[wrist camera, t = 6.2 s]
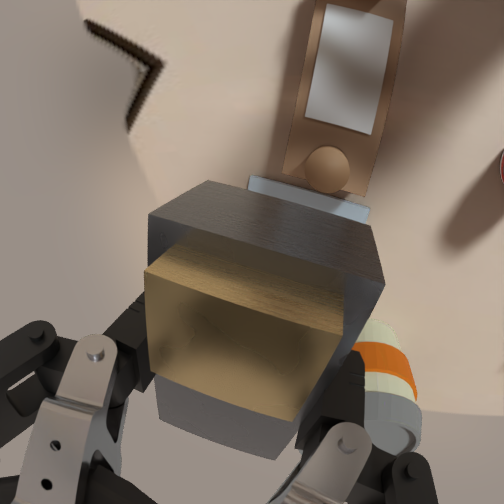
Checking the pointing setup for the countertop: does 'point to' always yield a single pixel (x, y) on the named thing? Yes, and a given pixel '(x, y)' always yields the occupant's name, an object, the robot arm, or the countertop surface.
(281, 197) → the rubber mat
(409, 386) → the reusable coffee cup
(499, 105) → the countertop surface
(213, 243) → the lever cap
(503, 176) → the pill bottle
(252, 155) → the countertop surface
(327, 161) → the plane body
